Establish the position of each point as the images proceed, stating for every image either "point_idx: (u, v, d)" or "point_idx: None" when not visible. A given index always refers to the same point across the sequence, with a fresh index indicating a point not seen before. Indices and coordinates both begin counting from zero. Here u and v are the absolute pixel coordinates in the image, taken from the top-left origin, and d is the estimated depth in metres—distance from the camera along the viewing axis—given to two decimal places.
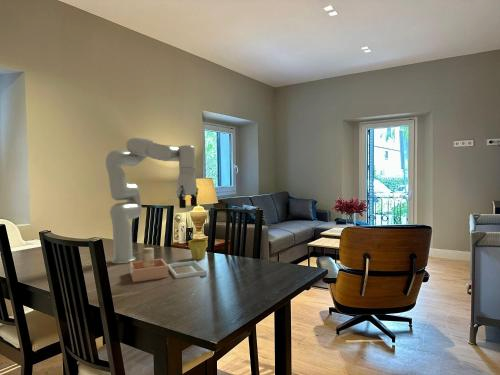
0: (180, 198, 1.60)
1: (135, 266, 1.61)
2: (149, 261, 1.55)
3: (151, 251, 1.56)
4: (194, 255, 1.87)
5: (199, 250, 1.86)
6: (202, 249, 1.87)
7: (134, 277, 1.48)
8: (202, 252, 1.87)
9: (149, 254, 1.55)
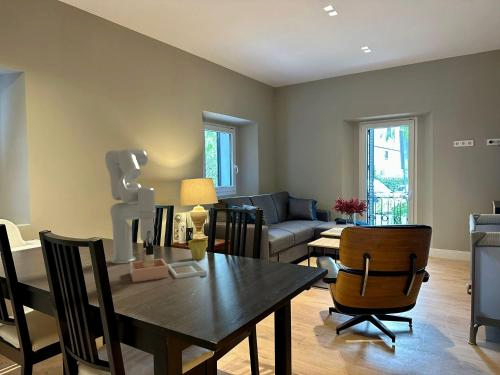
0: (149, 245, 1.51)
1: (135, 266, 1.61)
2: (149, 261, 1.55)
3: None
4: (194, 255, 1.87)
5: (199, 250, 1.86)
6: (202, 249, 1.87)
7: (134, 277, 1.48)
8: (202, 252, 1.87)
9: None
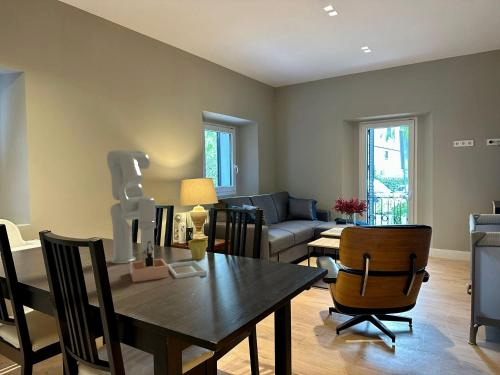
0: (149, 256, 1.53)
1: (135, 266, 1.61)
2: None
3: None
4: (194, 255, 1.87)
5: (199, 250, 1.86)
6: (202, 249, 1.87)
7: (134, 277, 1.48)
8: (202, 252, 1.87)
9: None
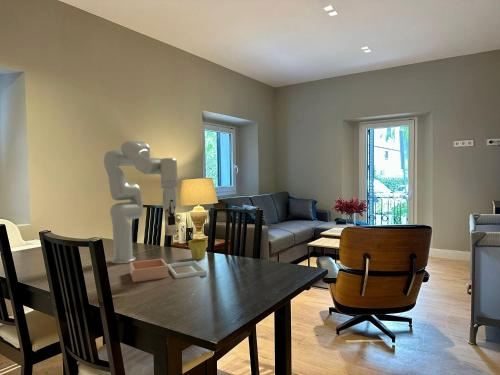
0: (171, 215, 1.56)
1: (135, 266, 1.61)
2: None
3: None
4: (194, 255, 1.87)
5: (199, 250, 1.86)
6: (202, 249, 1.87)
7: (134, 277, 1.48)
8: (202, 252, 1.87)
9: None
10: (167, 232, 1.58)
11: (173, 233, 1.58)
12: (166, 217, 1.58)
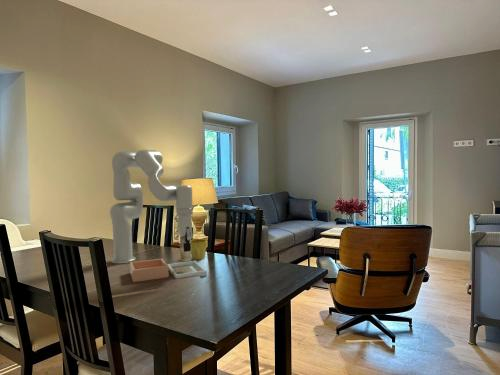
0: (187, 242, 1.59)
1: (135, 266, 1.61)
2: None
3: None
4: (194, 255, 1.87)
5: (199, 250, 1.86)
6: (202, 249, 1.87)
7: (134, 277, 1.48)
8: (202, 252, 1.87)
9: None
10: (182, 258, 1.61)
11: (188, 259, 1.61)
12: (182, 243, 1.61)
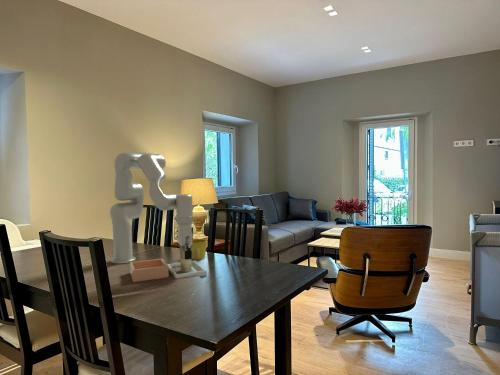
0: (188, 249, 1.57)
1: (135, 266, 1.61)
2: None
3: None
4: (194, 255, 1.87)
5: (199, 250, 1.86)
6: (202, 249, 1.87)
7: (134, 277, 1.48)
8: (202, 252, 1.87)
9: None
10: (183, 270, 1.61)
11: (189, 270, 1.62)
12: (182, 255, 1.61)
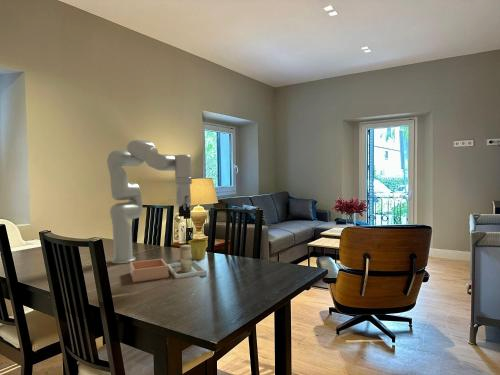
0: (187, 209, 1.56)
1: (135, 266, 1.61)
2: (187, 258, 1.61)
3: (189, 248, 1.61)
4: (194, 255, 1.87)
5: (199, 250, 1.86)
6: (202, 249, 1.87)
7: (134, 277, 1.48)
8: (202, 252, 1.87)
9: (187, 251, 1.61)
10: (183, 270, 1.61)
11: (189, 270, 1.62)
12: (182, 255, 1.61)
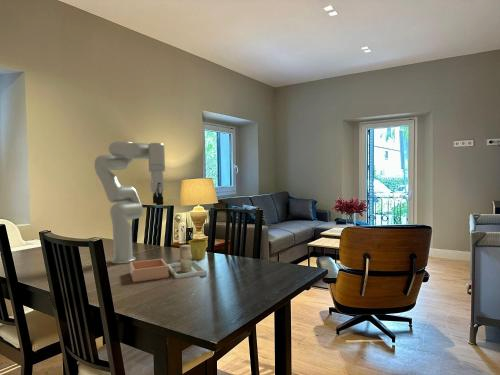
0: (159, 195, 1.61)
1: (135, 266, 1.61)
2: (187, 258, 1.61)
3: (188, 248, 1.62)
4: (194, 255, 1.87)
5: (199, 250, 1.86)
6: (202, 249, 1.87)
7: (134, 277, 1.48)
8: (202, 252, 1.87)
9: (187, 251, 1.61)
10: (182, 269, 1.61)
11: (188, 270, 1.62)
12: (182, 255, 1.61)
